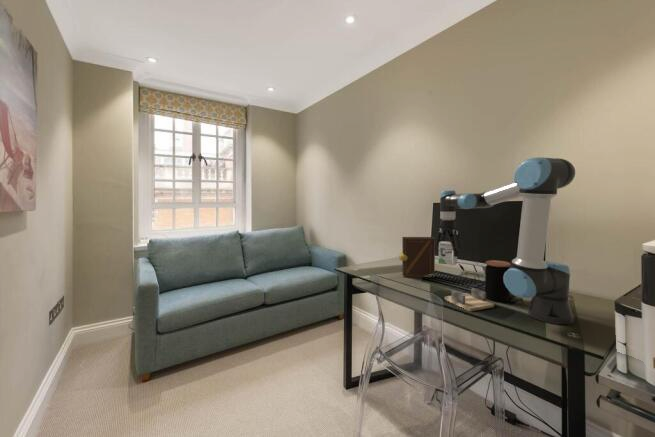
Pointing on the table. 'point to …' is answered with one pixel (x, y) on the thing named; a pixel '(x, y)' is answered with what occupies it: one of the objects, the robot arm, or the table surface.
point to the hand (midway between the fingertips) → (447, 260)
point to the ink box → (445, 253)
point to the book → (417, 256)
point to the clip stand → (470, 300)
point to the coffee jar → (496, 280)
